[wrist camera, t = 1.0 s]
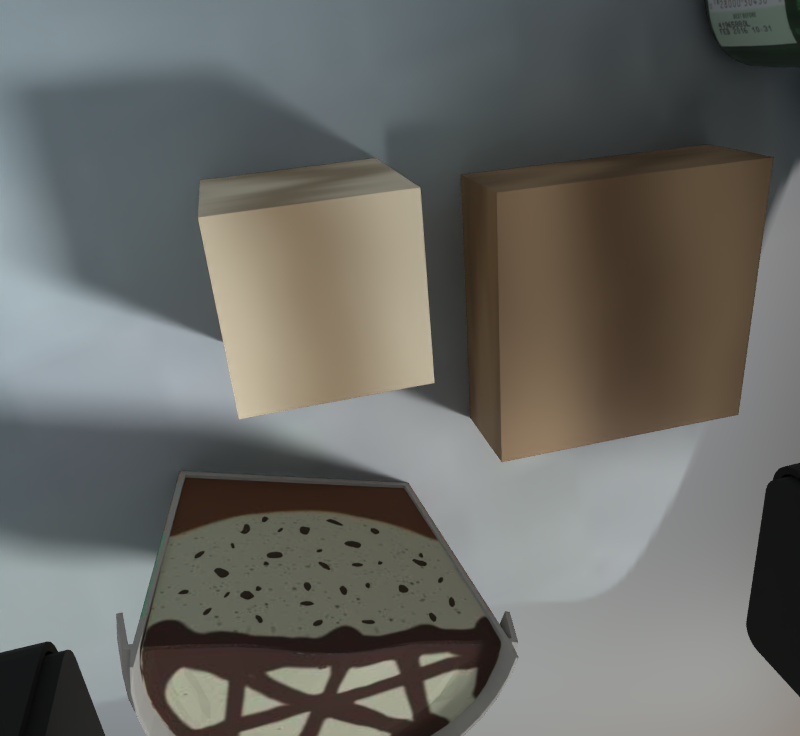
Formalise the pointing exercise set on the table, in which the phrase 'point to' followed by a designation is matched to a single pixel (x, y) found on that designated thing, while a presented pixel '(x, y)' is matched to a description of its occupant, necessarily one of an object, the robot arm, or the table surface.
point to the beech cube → (318, 283)
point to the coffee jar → (757, 30)
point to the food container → (310, 616)
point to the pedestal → (610, 294)
